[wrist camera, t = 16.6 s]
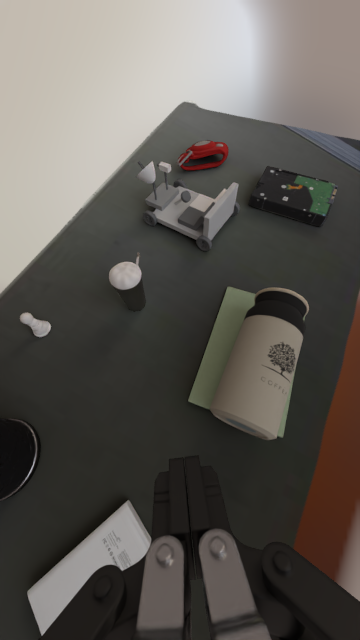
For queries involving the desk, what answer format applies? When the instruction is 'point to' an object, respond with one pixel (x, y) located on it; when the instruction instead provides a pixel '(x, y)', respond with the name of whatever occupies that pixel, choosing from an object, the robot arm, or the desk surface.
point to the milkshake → (129, 284)
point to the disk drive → (294, 196)
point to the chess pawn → (36, 324)
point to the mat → (225, 350)
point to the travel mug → (262, 364)
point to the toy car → (188, 207)
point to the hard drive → (89, 563)
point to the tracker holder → (203, 154)
